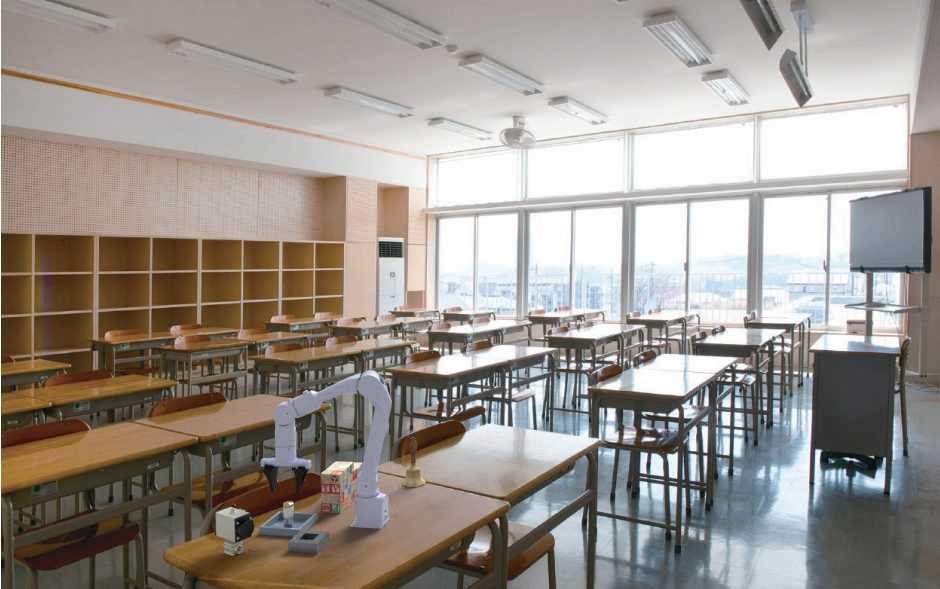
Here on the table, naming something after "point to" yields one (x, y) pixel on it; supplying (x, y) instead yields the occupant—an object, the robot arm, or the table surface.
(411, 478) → the hand bell
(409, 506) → the table surface
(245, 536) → the pneumatic valve
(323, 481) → the stack of blocks
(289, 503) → the small glass bottle
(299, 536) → the block
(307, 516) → the tray
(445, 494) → the table surface
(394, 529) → the table surface
